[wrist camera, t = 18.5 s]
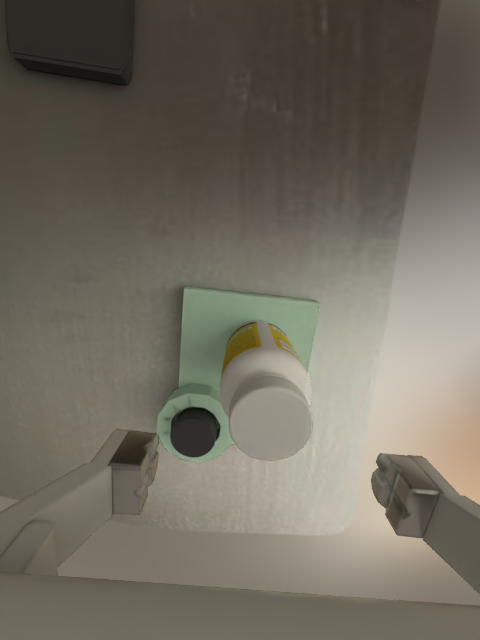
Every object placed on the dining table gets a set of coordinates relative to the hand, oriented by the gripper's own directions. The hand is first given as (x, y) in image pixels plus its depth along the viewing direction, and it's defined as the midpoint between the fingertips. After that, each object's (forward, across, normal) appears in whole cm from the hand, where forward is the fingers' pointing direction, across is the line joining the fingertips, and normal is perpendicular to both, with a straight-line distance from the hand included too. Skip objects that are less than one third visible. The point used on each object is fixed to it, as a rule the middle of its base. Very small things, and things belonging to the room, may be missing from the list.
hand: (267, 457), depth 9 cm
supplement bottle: (+12, -1, 0) cm, 12 cm away
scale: (+14, 0, +3) cm, 14 cm away
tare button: (+11, +4, +7) cm, 14 cm away
